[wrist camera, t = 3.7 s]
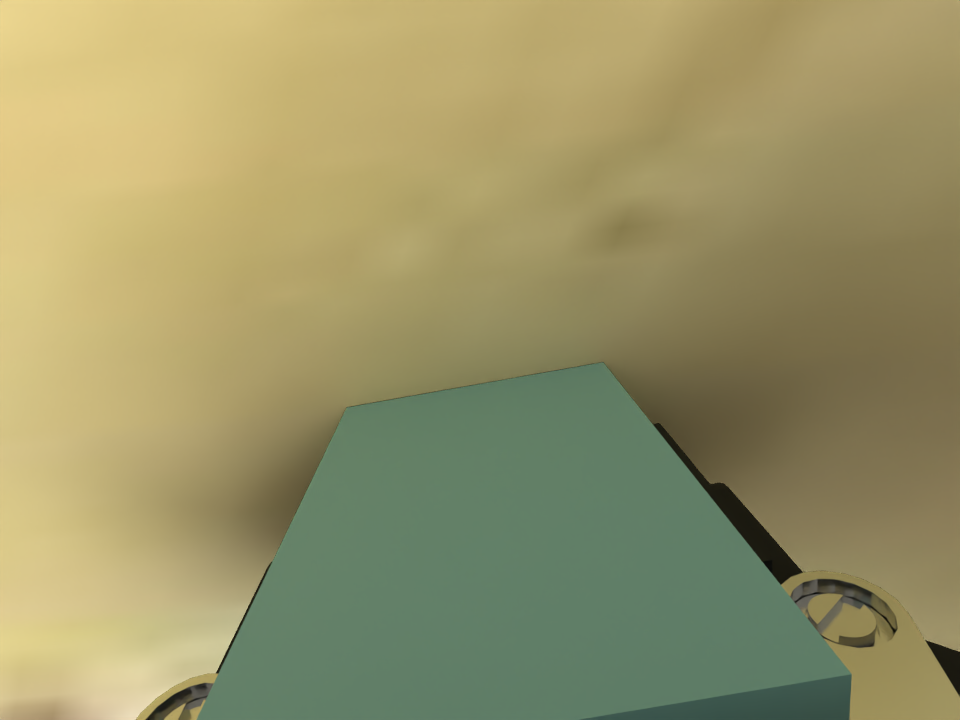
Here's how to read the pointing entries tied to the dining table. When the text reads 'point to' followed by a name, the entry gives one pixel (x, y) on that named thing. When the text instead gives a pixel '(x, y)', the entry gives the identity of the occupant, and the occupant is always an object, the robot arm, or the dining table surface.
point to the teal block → (519, 576)
